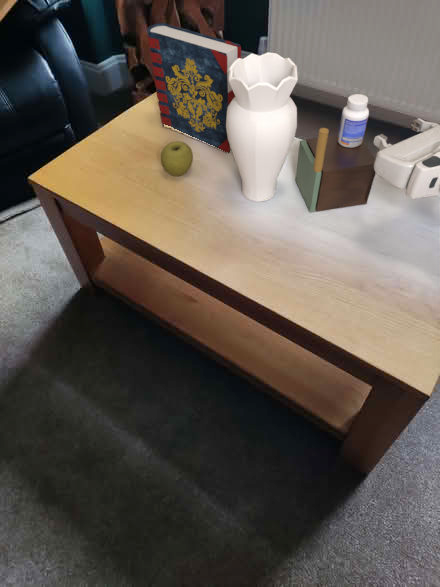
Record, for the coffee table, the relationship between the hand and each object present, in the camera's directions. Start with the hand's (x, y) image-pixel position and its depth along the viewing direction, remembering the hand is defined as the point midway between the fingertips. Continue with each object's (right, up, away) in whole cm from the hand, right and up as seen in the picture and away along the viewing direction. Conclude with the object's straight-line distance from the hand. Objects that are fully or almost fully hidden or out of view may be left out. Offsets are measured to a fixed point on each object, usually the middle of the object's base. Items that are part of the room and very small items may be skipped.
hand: (395, 130), depth 83 cm
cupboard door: (-14, -8, +18) cm, 25 cm away
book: (-40, +13, +37) cm, 55 cm away
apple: (-44, -1, +27) cm, 52 cm away
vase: (-25, -7, +21) cm, 33 cm away
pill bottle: (-5, +2, +13) cm, 14 cm away
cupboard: (-7, -7, +19) cm, 22 cm away
